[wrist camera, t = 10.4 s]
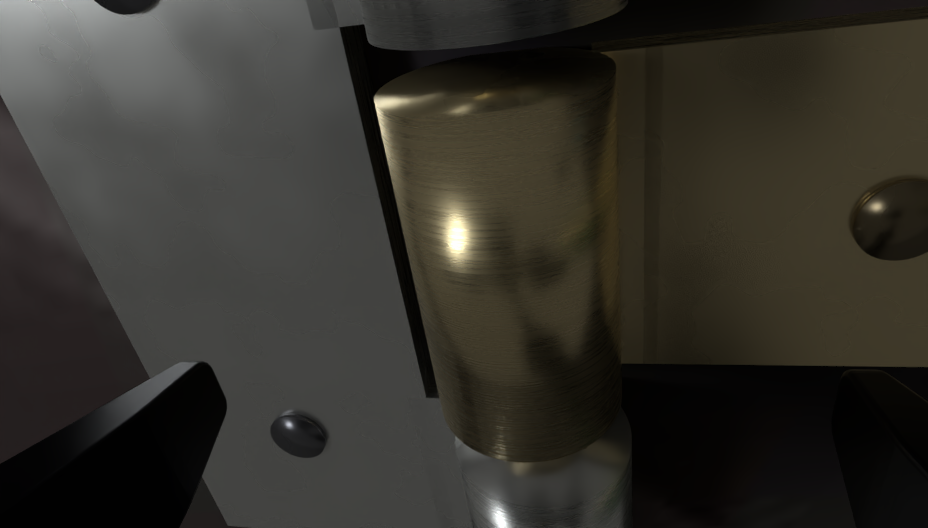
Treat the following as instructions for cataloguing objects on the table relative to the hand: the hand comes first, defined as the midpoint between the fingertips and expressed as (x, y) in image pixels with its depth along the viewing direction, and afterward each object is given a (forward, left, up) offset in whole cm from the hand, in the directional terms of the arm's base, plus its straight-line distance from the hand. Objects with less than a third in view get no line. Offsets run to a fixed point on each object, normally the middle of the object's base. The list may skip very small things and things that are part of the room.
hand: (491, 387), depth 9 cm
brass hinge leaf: (0, -4, -6) cm, 7 cm away
